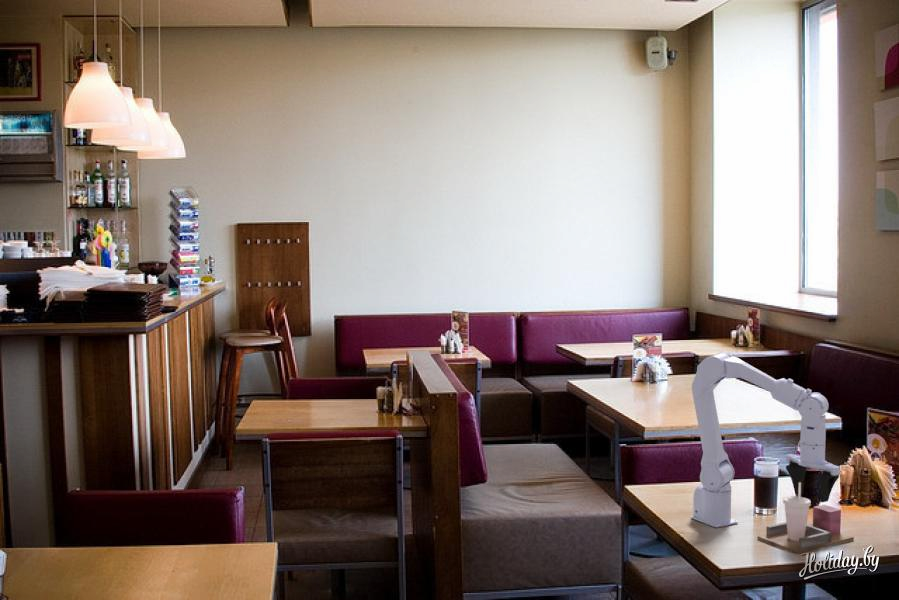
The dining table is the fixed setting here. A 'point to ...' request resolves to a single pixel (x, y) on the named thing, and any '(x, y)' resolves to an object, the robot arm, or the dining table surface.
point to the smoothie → (796, 515)
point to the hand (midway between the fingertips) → (811, 497)
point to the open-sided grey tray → (810, 532)
